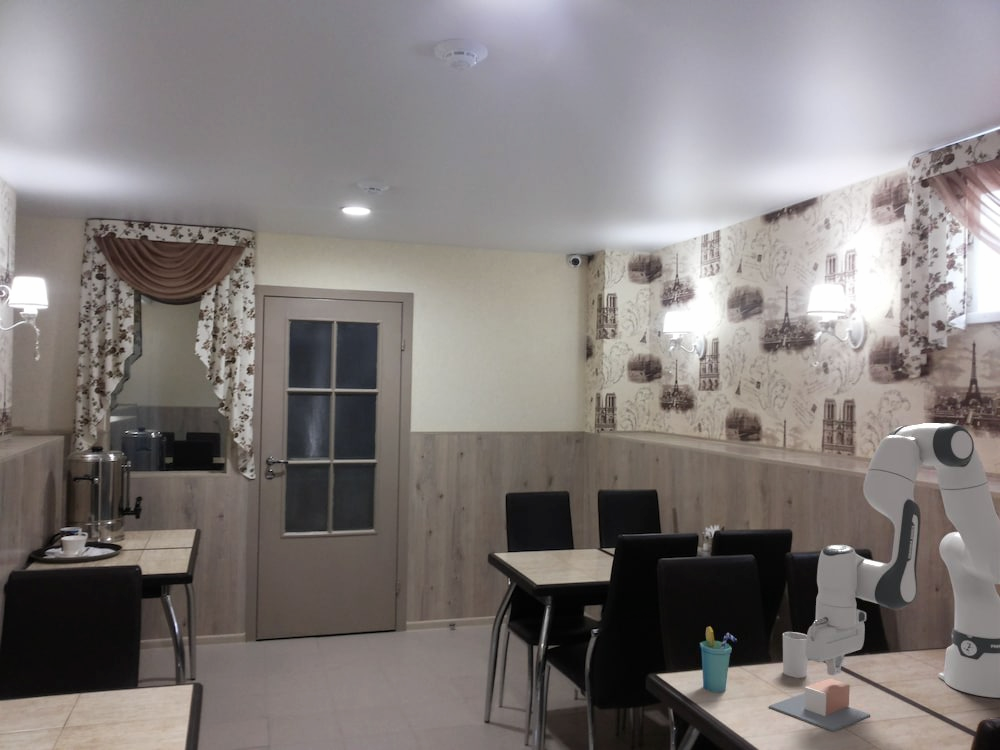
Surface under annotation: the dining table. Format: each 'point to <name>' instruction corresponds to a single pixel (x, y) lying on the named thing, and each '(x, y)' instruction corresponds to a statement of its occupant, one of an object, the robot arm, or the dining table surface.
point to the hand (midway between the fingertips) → (833, 673)
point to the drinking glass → (794, 654)
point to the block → (826, 696)
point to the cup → (715, 661)
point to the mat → (828, 722)
